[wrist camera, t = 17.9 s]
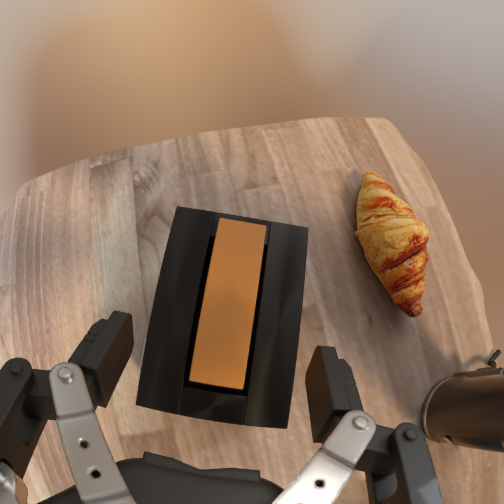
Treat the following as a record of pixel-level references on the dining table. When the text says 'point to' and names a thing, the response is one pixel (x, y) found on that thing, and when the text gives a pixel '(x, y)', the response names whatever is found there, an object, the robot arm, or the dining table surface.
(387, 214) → the croissant
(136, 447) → the dining table surface
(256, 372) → the slot toaster
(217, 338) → the orange slab
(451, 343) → the dining table surface
